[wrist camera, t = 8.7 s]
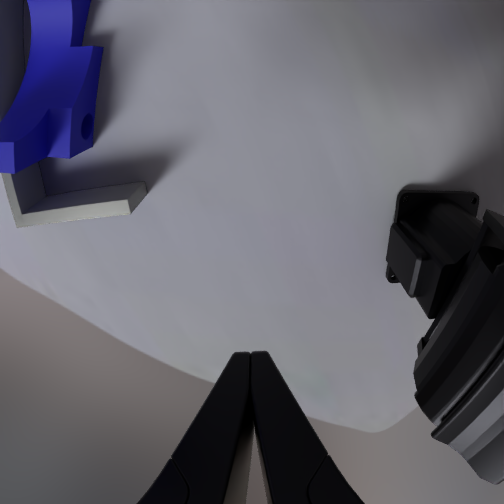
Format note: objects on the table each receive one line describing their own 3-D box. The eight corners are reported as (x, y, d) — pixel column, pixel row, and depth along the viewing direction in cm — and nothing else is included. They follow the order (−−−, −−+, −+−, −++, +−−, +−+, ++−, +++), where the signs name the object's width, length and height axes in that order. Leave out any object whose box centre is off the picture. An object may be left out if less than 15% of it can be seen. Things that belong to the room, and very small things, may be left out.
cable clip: (93, 146, 17) (38, 176, 12) (36, 142, 16) (-24, 170, 11) (126, -42, 11) (80, -79, 6) (62, -33, 11) (6, -55, 5)
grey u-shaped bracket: (126, -74, 10) (107, -93, 7) (147, 194, 18) (130, 214, 16) (16, -27, 10) (-10, -34, 7) (40, 208, 18) (17, 228, 16)
